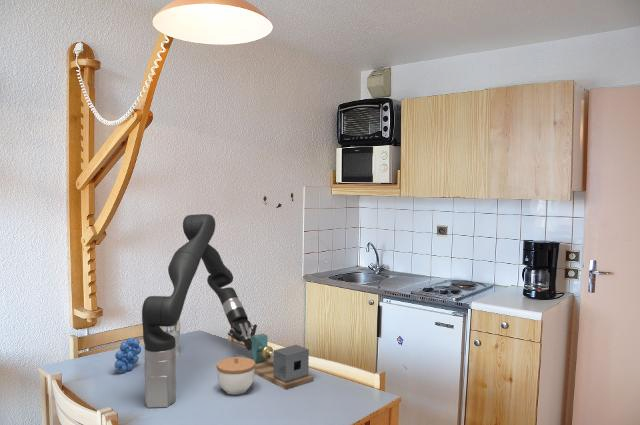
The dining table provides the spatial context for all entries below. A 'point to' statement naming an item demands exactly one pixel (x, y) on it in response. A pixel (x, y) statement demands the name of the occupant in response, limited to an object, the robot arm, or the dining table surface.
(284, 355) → the block
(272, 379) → the base board
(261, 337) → the shaft
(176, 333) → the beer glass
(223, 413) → the dining table surface
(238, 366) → the lidded bowl
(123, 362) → the grapes
